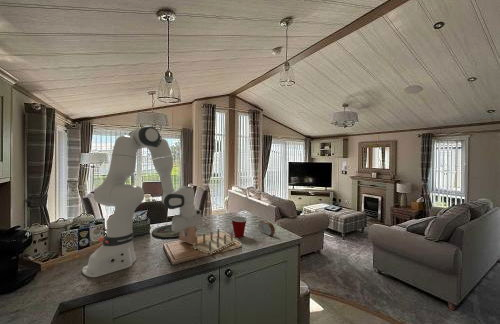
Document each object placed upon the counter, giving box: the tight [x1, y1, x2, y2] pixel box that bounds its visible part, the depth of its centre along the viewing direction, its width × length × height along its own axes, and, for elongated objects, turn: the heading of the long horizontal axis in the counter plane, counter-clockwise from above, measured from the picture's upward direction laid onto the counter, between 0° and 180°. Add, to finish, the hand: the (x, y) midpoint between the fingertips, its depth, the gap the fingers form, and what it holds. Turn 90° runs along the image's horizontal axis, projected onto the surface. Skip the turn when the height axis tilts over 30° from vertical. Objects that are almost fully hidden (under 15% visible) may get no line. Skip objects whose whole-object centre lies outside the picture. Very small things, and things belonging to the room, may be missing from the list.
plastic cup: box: [230, 215, 248, 238], centre depth 150 cm, size 11×11×12 cm
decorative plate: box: [151, 223, 197, 240], centre depth 161 cm, size 30×2×30 cm
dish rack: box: [192, 228, 236, 255], centre depth 134 cm, size 20×15×6 cm
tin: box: [258, 219, 276, 237], centre depth 155 cm, size 15×3×8 cm, turn 34°
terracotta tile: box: [179, 226, 197, 245], centre depth 139 cm, size 2×12×9 cm, turn 53°
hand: (187, 235), depth 139 cm, fingers closed on terracotta tile, 2 cm apart
